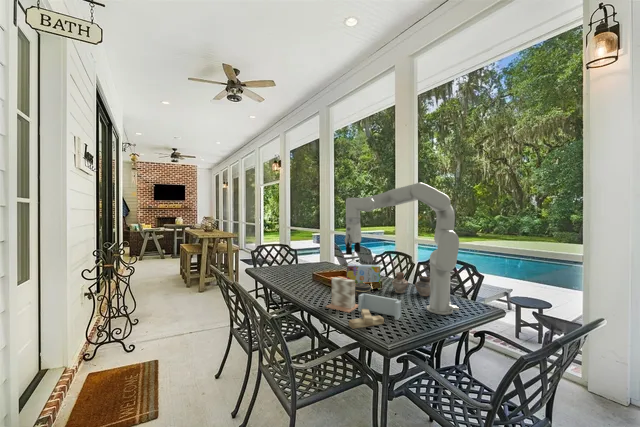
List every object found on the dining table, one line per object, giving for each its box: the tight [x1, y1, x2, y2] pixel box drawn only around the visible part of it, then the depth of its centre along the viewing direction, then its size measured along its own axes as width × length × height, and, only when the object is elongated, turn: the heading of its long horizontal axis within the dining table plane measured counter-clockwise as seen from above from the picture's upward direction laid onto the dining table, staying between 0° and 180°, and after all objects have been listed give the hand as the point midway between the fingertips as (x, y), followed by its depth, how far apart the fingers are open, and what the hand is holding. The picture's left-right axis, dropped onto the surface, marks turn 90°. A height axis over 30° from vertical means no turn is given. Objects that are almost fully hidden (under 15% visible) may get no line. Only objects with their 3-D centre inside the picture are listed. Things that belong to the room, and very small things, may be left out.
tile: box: [325, 303, 358, 314], centre depth 161 cm, size 14×12×1 cm
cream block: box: [330, 276, 356, 309], centre depth 160 cm, size 12×4×14 cm, turn 57°
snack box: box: [346, 263, 381, 291], centre depth 195 cm, size 21×6×15 cm, turn 84°
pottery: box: [391, 271, 430, 297], centre depth 185 cm, size 11×25×12 cm, turn 69°
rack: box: [357, 293, 402, 321], centre depth 151 cm, size 20×5×8 cm, turn 57°
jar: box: [355, 283, 372, 301], centre depth 175 cm, size 10×10×8 cm
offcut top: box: [360, 309, 373, 324], centre depth 138 cm, size 12×3×2 cm, turn 1°
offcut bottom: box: [348, 315, 385, 330], centre depth 137 cm, size 16×4×3 cm, turn 111°
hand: (353, 253), depth 160 cm, fingers open, 9 cm apart
